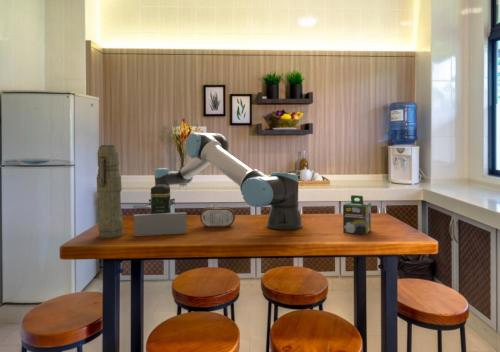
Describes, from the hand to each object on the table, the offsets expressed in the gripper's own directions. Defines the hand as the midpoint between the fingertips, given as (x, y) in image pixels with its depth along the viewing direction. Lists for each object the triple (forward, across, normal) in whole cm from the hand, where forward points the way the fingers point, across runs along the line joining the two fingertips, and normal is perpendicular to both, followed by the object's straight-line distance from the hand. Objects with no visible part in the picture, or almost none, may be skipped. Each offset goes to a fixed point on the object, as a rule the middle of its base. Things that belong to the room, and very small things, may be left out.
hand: (161, 206), depth 161 cm
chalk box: (+36, -77, -8) cm, 85 cm away
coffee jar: (+10, 0, -8) cm, 12 cm away
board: (+21, 0, -7) cm, 23 cm away
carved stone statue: (+19, +19, -8) cm, 28 cm away
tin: (+13, -24, -8) cm, 28 cm away
